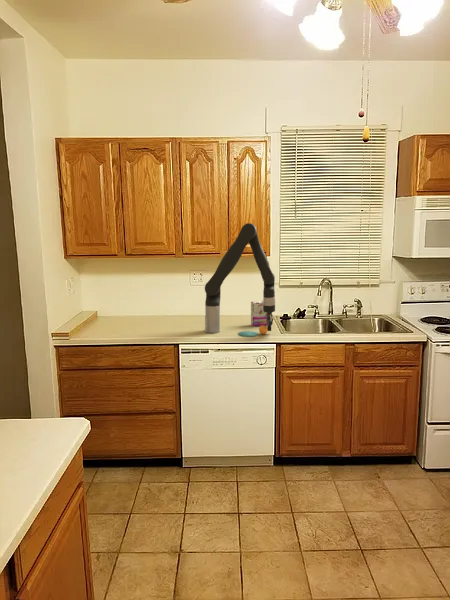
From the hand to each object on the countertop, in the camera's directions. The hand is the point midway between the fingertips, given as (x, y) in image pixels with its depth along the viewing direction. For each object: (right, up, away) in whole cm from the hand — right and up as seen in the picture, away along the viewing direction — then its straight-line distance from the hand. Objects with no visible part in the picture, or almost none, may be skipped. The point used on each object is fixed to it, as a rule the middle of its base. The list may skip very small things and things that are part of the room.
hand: (269, 330), depth 283 cm
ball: (-4, +1, -1) cm, 4 cm away
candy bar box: (-5, +2, +22) cm, 22 cm away
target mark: (-13, -2, -1) cm, 14 cm away
